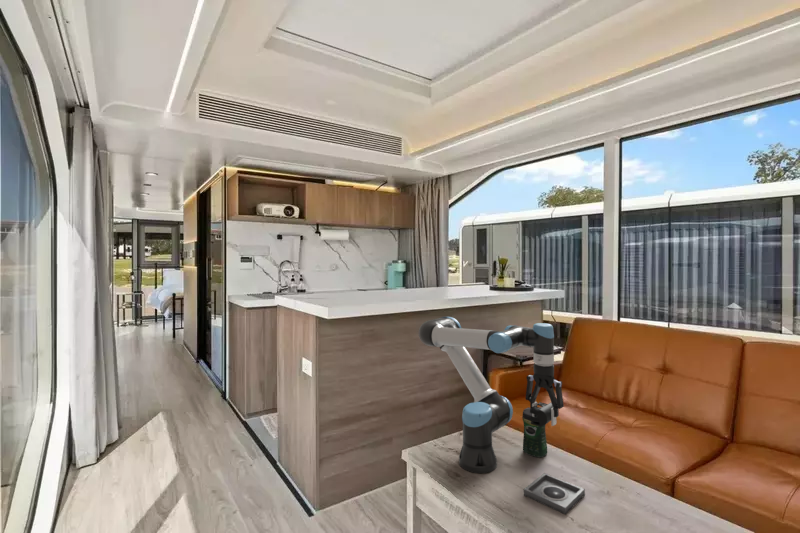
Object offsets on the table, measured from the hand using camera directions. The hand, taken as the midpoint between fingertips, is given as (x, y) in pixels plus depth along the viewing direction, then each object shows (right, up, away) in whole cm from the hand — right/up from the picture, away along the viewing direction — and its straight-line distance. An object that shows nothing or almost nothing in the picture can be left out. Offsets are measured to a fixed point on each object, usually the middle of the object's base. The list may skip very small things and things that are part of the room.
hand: (544, 421), depth 163 cm
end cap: (0, -1, 0) cm, 1 cm away
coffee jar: (+1, -19, +14) cm, 23 cm away
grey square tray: (-2, -20, -16) cm, 26 cm away
